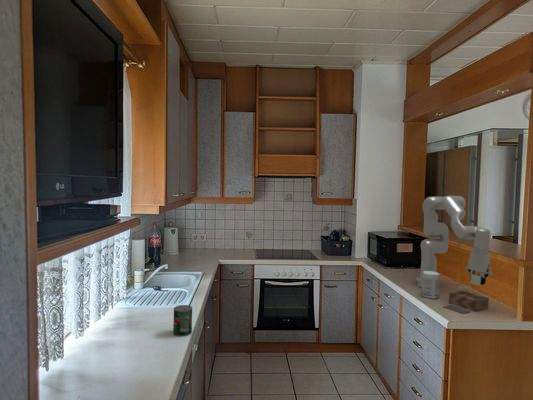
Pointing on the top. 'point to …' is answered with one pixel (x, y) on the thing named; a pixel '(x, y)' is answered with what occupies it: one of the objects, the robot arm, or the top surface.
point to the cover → (476, 278)
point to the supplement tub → (430, 284)
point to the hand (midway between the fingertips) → (477, 282)
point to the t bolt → (464, 289)
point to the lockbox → (469, 301)
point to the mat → (457, 309)
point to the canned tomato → (182, 320)
